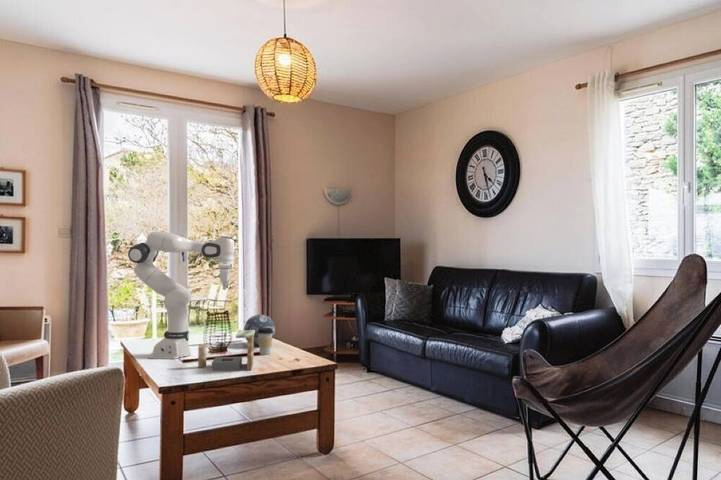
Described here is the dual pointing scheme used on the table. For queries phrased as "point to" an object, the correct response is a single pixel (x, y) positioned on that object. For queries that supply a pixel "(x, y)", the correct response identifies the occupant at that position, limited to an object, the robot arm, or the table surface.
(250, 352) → the awning
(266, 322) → the decorative ball
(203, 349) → the beech peg
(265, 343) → the coffee cup
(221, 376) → the table surface
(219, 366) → the socket
